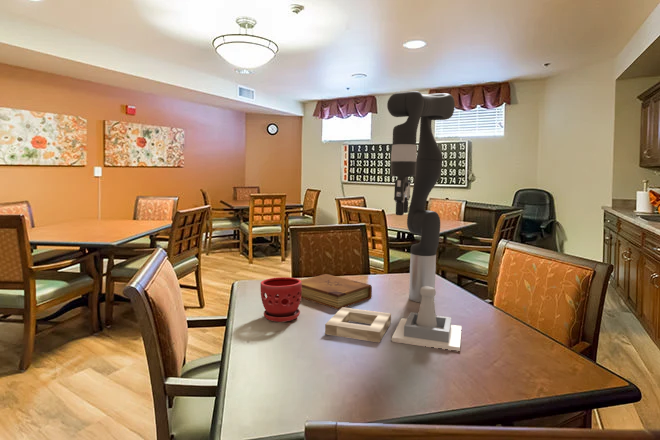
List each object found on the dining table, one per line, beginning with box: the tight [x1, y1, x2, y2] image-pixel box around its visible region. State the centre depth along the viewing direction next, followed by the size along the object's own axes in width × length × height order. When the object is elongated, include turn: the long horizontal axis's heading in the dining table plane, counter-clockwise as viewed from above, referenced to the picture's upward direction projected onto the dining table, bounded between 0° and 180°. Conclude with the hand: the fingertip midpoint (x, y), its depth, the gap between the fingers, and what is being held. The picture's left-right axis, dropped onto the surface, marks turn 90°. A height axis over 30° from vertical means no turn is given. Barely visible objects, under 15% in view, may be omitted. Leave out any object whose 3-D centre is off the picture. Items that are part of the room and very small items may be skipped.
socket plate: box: [391, 311, 463, 352], centre depth 117 cm, size 16×18×4 cm
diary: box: [300, 273, 373, 310], centre depth 153 cm, size 23×19×6 cm
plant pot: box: [260, 276, 302, 323], centre depth 130 cm, size 13×13×12 cm
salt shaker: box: [416, 286, 437, 328], centre depth 116 cm, size 6×6×13 cm
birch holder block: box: [324, 307, 392, 343], centre depth 121 cm, size 16×16×3 cm
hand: (401, 213), depth 124 cm, fingers open, 8 cm apart
